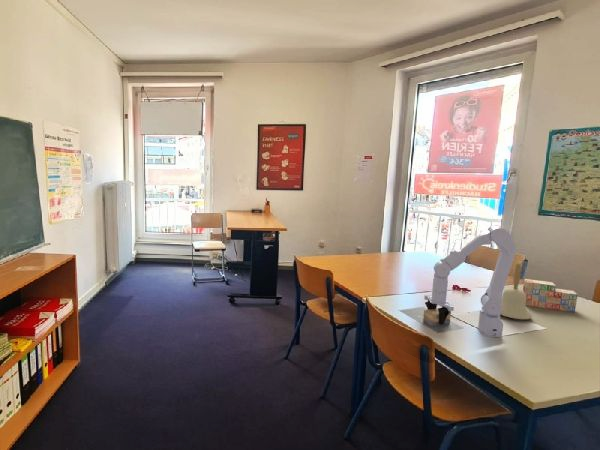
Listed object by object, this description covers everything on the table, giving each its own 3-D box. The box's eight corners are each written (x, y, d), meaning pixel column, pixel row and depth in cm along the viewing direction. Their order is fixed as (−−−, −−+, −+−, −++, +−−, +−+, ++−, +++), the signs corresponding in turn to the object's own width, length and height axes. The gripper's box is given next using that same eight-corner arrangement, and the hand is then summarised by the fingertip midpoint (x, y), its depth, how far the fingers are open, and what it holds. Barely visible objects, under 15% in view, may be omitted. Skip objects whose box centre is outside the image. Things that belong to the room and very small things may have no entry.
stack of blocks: (571, 308, 172) (574, 285, 171) (574, 313, 167) (578, 288, 165) (521, 300, 181) (524, 278, 179) (523, 304, 175) (526, 281, 174)
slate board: (463, 330, 142) (463, 327, 142) (437, 335, 137) (438, 332, 137) (422, 309, 164) (422, 306, 164) (398, 312, 159) (398, 310, 158)
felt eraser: (440, 318, 151) (442, 307, 150) (449, 323, 146) (451, 311, 146) (423, 321, 147) (424, 310, 146) (431, 326, 142) (432, 314, 142)
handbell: (521, 325, 150) (529, 269, 146) (486, 313, 162) (493, 261, 159) (537, 318, 158) (545, 265, 155) (503, 307, 171) (509, 258, 167)
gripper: (420, 285, 150) (417, 315, 152) (445, 297, 136) (442, 329, 138) (432, 284, 152) (429, 313, 154) (458, 295, 139) (455, 327, 141)
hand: (436, 321), depth 147 cm, fingers closed on felt eraser, 5 cm apart
